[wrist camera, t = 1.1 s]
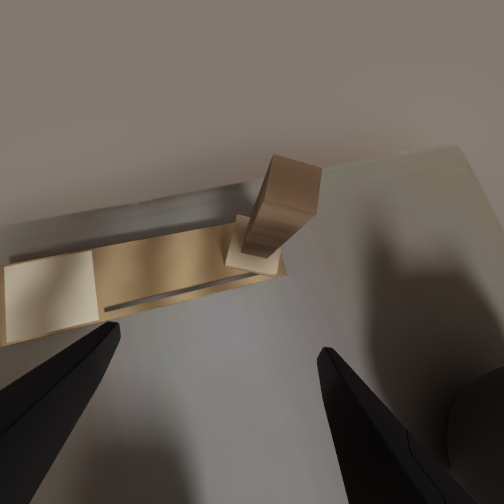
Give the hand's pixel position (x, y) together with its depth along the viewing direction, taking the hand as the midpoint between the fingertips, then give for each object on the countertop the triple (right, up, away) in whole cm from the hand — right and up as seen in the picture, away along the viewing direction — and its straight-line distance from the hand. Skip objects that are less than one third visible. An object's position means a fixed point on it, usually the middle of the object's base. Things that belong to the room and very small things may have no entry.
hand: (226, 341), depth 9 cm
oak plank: (-9, +2, +13) cm, 15 cm away
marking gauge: (+1, +4, +13) cm, 14 cm away
